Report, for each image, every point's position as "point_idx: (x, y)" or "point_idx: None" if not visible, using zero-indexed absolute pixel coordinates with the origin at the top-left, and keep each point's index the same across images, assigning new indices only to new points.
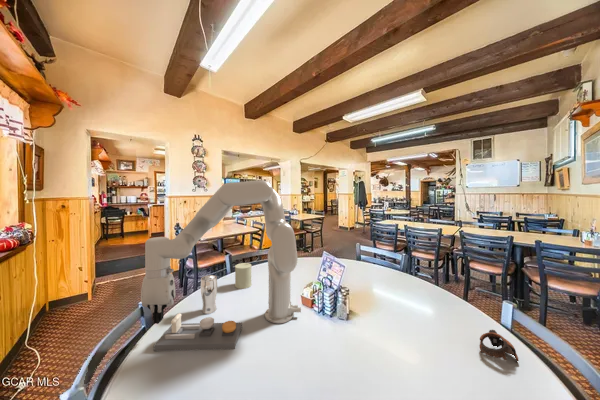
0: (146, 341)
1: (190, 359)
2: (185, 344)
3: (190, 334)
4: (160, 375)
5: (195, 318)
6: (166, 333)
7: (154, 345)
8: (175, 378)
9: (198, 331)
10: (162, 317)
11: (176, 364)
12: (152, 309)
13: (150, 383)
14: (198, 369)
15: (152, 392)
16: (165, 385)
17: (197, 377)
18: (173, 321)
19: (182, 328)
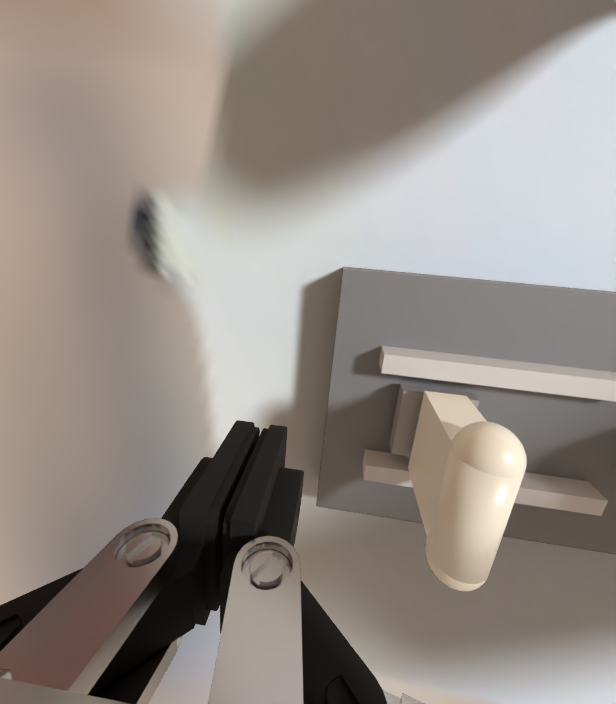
0: (226, 389)
1: (549, 575)
2: (526, 538)
3: (570, 503)
4: (423, 625)
5: (519, 97)
6: (345, 402)
7: (318, 504)
8: (496, 652)
9: (613, 420)
10: (300, 498)
11: (479, 588)
12: (132, 679)
13: (397, 648)
14: (601, 637)
15: (422, 681)
16: (463, 669)
17: (599, 671)
18: (466, 590)
19: (477, 403)
